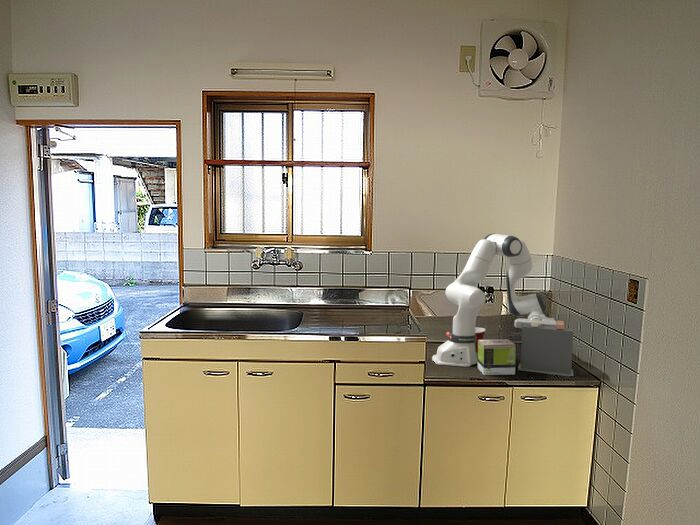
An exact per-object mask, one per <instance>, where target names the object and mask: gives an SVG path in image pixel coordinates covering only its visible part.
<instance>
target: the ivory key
mask: <svg viewBox="0 0 700 525" xmlns="http://www.w3.org/2000/svg"><path fill="white" fill-rule="evenodd" d="M538 325H539V319H533V318H532V322H531V326H532V327H538Z"/></svg>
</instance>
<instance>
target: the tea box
mask: <svg viewBox="0 0 700 525" xmlns="http://www.w3.org/2000/svg"><path fill="white" fill-rule="evenodd" d="M516 353H517V352H516V343H514V342H513V341H511V340H510V339H508V338H497V339H493V338H492V339H491V338H490V339H483V340H478V352H477V361H478V362H477V369H478V370H479V372H480V373H481V372H482V373H481V374H482V375H484V376H500V375H501V376H503V375H504V376H505V375H506V376H507V375H508V376H510V375H516V355H517V354H516Z"/></svg>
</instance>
